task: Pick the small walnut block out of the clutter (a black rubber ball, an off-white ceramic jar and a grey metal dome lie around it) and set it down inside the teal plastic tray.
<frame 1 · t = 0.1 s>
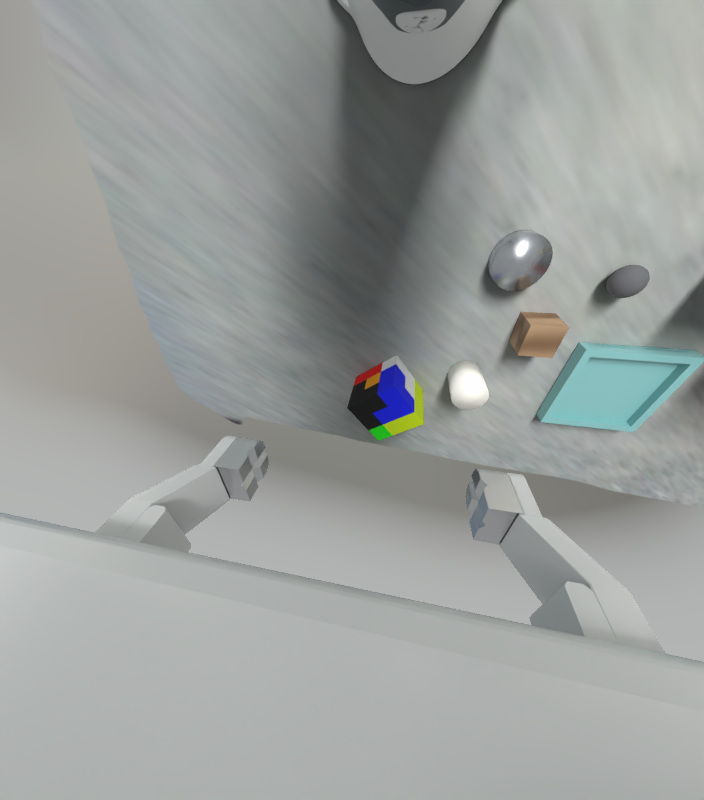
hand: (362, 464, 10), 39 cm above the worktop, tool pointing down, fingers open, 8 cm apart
walnut block: (531, 327, 43), on the worktop
tray: (604, 386, 47), on the worktop
puzzle toy: (389, 382, 56), on the worktop
rubber ball: (626, 281, 35), point 2 cm above the worktop
ceramic jar: (464, 373, 51), on the worktop
grey metal dome: (514, 258, 38), on the worktop
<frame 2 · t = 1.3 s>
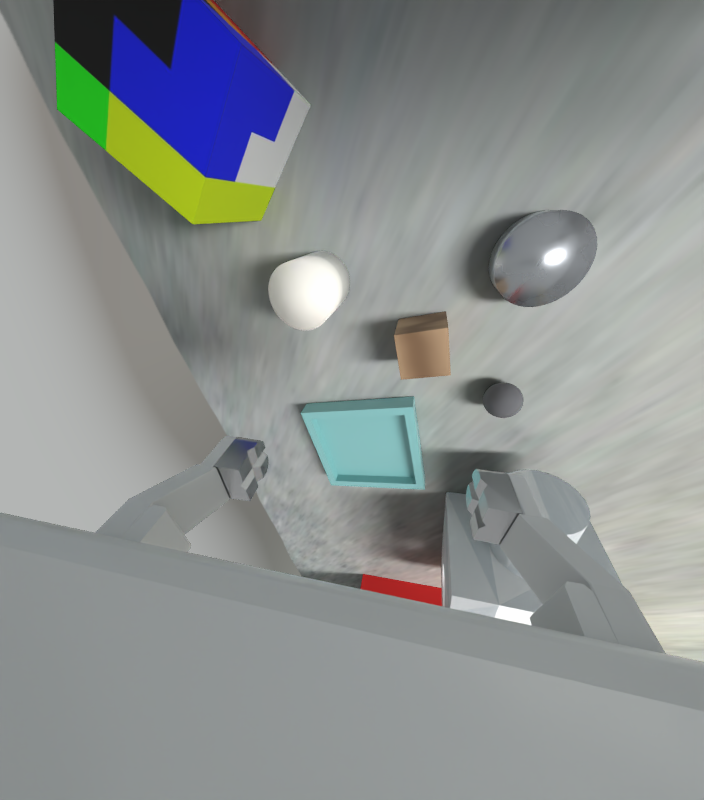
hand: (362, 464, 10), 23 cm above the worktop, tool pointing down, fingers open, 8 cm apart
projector: (502, 522, 46), on the worktop
walnut block: (423, 336, 30), on the worktop
tray: (368, 441, 42), on the worktop
puzzle toy: (238, 125, 24), on the worktop
rubber ball: (502, 400, 30), point 2 cm above the worktop
ceramic jar: (324, 281, 29), on the worktop
book: (416, 589, 68), on the worktop
grey metal dome: (531, 258, 24), on the worktop
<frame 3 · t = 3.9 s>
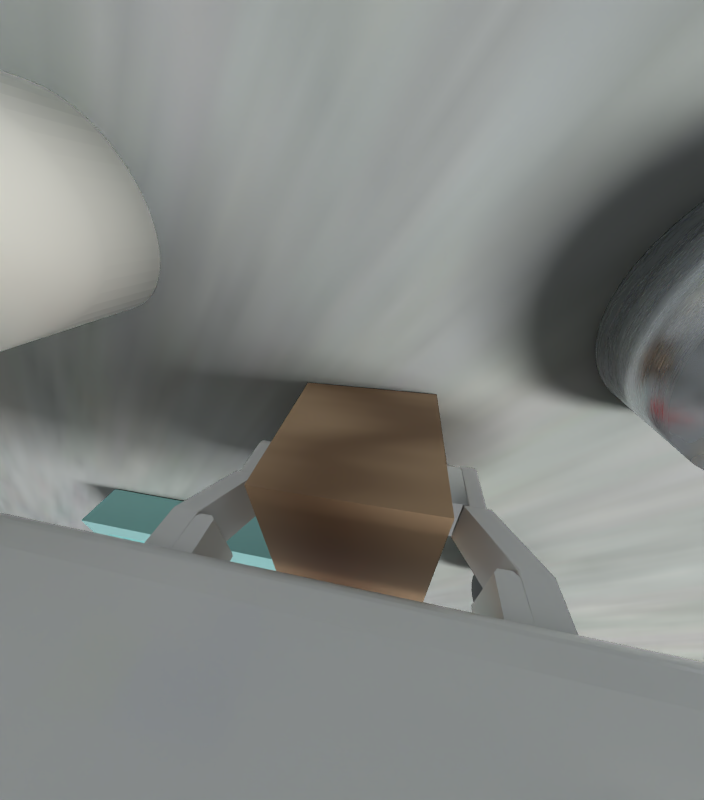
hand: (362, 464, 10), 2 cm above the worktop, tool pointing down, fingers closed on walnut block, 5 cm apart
walnut block: (368, 436, 12), on the worktop, touching gripper
tray: (244, 563, 22), on the worktop
ceramic jar: (71, 216, 9), on the worktop
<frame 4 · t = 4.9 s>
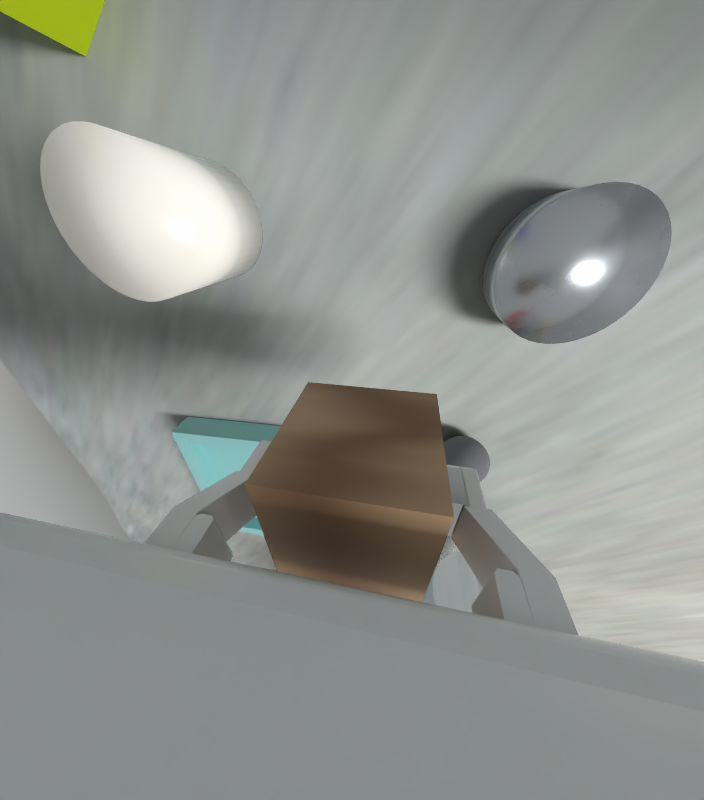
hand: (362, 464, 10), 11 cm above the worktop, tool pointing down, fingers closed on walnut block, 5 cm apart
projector: (425, 585, 39), on the worktop
walnut block: (368, 436, 12), point 9 cm above the worktop, touching gripper
tray: (276, 479, 30), on the worktop
rubber ball: (462, 460, 22), point 2 cm above the worktop
ceramic jar: (216, 224, 16), on the worktop
grey metal dome: (547, 266, 15), on the worktop
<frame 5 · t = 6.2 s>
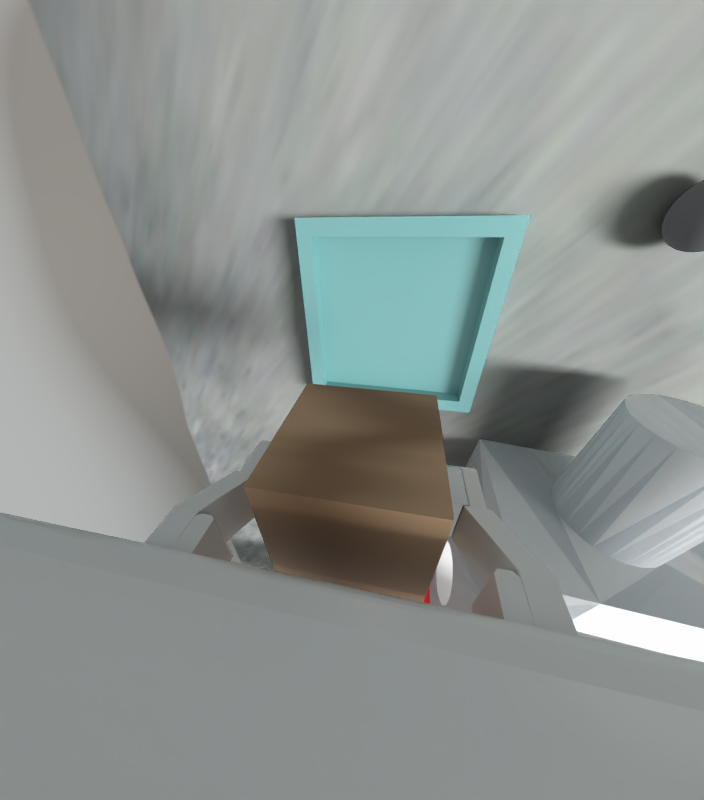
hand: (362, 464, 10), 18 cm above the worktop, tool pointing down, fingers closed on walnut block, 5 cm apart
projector: (535, 490, 34), on the worktop
walnut block: (367, 437, 12), point 16 cm above the worktop, touching gripper
tray: (396, 320, 25), on the worktop
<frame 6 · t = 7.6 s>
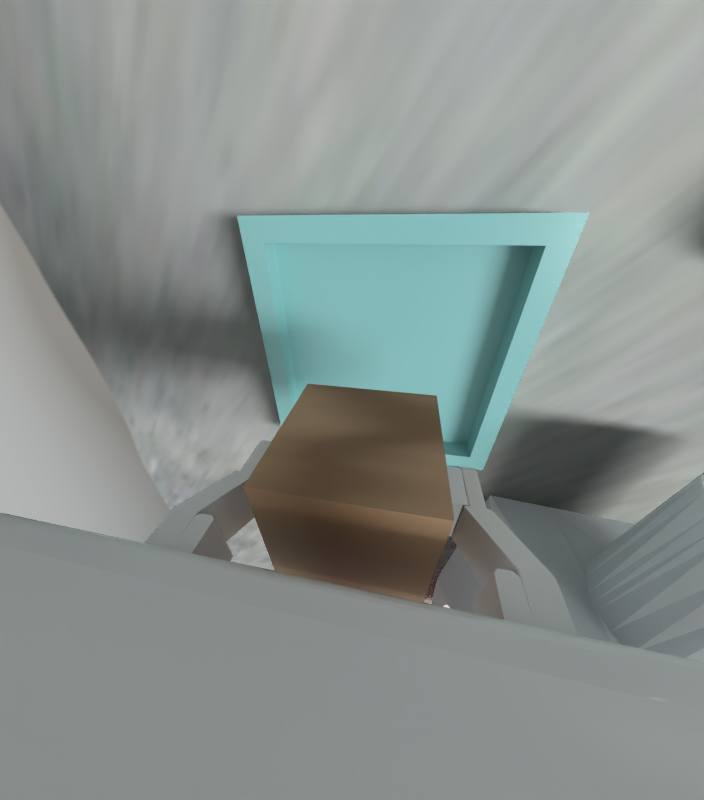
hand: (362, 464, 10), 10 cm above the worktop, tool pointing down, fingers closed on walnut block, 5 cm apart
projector: (555, 550, 28), on the worktop
walnut block: (367, 437, 12), point 9 cm above the worktop, touching gripper
tray: (387, 352, 19), on the worktop
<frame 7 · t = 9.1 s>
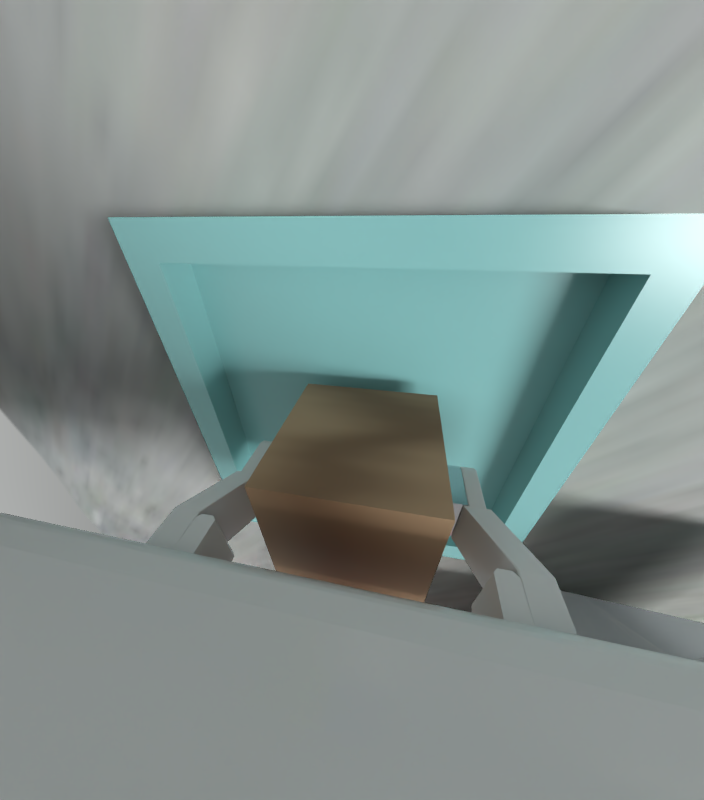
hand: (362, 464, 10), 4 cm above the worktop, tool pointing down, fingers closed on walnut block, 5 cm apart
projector: (581, 632, 23), on the worktop
walnut block: (368, 437, 12), point 2 cm above the worktop, touching gripper
tray: (371, 410, 13), on the worktop
when the fingers open (4 cm above the worktop, at t = 9.2 s): walnut block stays where it is, resting on tray.
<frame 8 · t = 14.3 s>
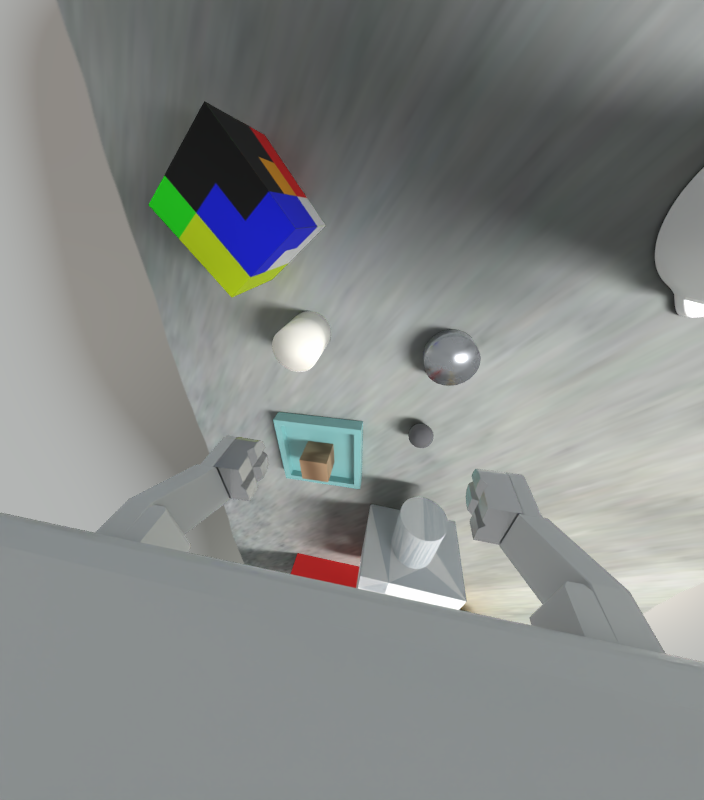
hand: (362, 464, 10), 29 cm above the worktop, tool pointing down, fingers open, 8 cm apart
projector: (406, 527, 64), on the worktop
walnut block: (321, 451, 52), point 1 cm above the worktop, touching tray
tray: (322, 448, 53), on the worktop
puzzle toy: (269, 216, 32), on the worktop
rubber ball: (420, 435, 44), point 2 cm above the worktop
ceramic jar: (311, 331, 39), on the worktop
book: (340, 567, 82), on the worktop
grey metal dome: (449, 353, 37), on the worktop
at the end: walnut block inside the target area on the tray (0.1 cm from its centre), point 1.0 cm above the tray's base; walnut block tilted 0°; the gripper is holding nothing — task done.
